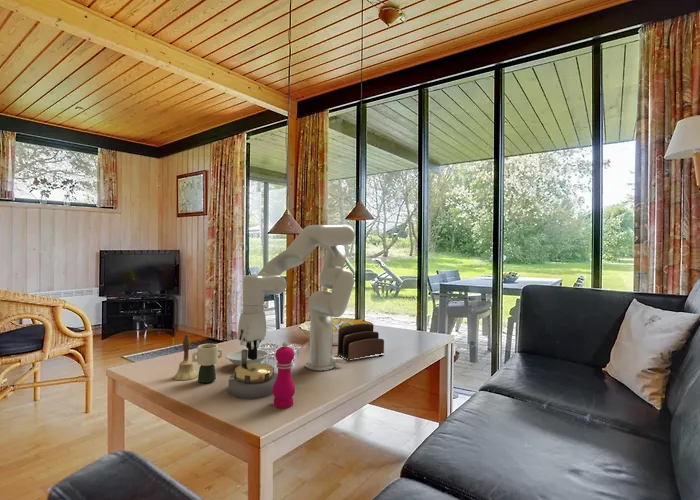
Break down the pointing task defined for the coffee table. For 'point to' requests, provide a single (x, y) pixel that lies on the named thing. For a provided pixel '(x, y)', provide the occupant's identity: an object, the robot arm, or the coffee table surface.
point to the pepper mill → (284, 378)
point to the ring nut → (252, 371)
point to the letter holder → (359, 341)
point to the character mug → (207, 361)
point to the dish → (236, 357)
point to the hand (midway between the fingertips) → (252, 358)
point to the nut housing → (251, 388)
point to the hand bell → (186, 363)
